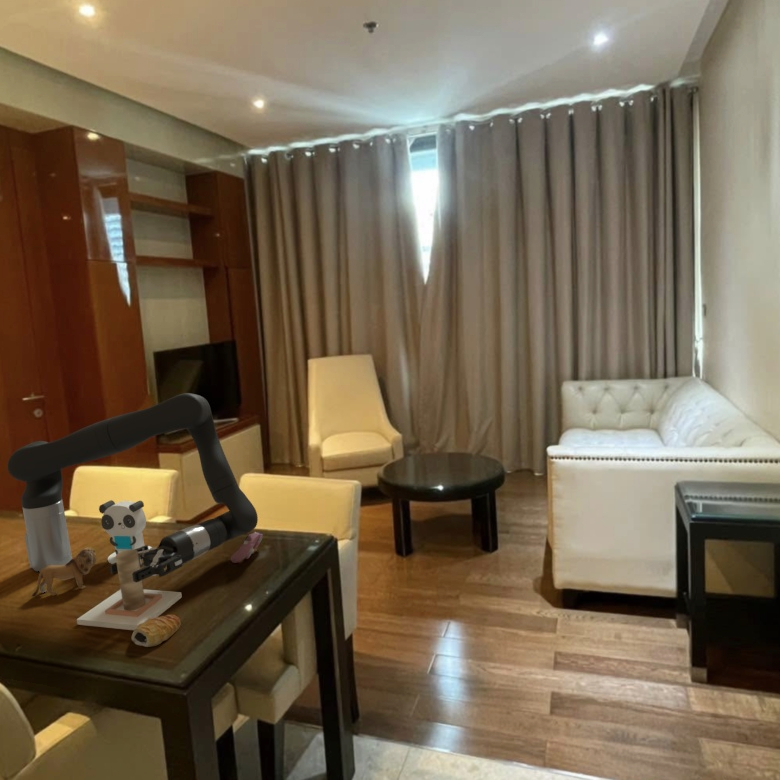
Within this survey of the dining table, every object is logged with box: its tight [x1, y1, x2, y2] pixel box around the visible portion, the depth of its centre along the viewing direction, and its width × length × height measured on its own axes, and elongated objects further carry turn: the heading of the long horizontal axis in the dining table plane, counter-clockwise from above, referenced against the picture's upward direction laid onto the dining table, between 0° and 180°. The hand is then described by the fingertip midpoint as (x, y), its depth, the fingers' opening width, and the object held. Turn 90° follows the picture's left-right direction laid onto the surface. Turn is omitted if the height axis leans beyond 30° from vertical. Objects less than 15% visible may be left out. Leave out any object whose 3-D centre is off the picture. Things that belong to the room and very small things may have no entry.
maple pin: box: [116, 550, 145, 611], centre depth 130 cm, size 4×4×12 cm
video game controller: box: [230, 531, 264, 564], centre depth 156 cm, size 10×5×7 cm, turn 169°
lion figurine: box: [31, 547, 98, 597], centre depth 144 cm, size 15×5×9 cm, turn 120°
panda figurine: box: [98, 499, 153, 565], centre depth 161 cm, size 12×11×15 cm
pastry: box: [130, 614, 182, 648], centre depth 120 cm, size 9×7×4 cm
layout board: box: [76, 588, 183, 631], centre depth 131 cm, size 16×14×2 cm
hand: (122, 574), depth 128 cm, fingers open, 8 cm apart
